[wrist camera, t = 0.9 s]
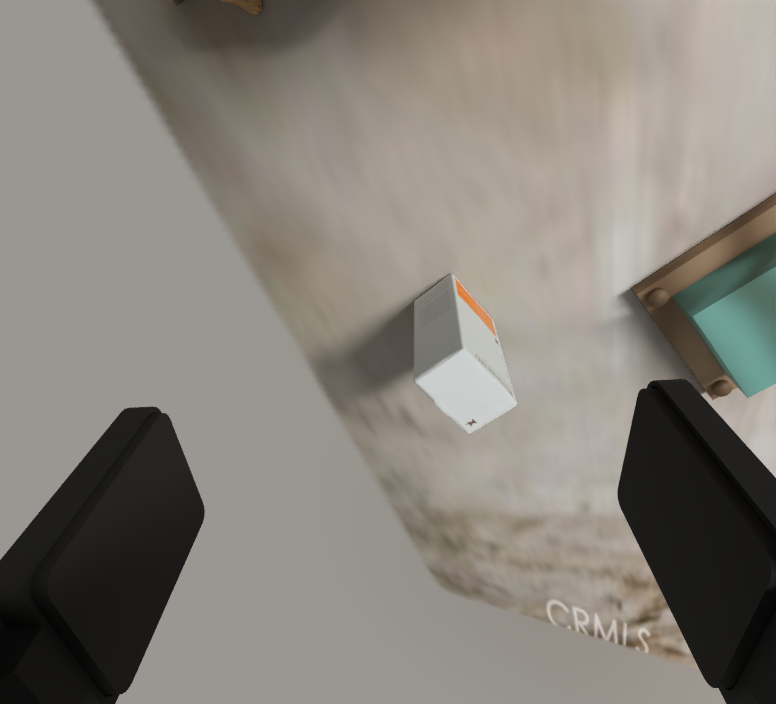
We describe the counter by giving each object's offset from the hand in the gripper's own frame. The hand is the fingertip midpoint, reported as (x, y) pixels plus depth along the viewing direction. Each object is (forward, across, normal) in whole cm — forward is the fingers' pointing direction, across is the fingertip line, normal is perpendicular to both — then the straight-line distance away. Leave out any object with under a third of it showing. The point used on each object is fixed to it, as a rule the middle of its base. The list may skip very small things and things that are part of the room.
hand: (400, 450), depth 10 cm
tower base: (+30, -28, +12) cm, 42 cm away
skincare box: (+30, -4, +12) cm, 33 cm away
